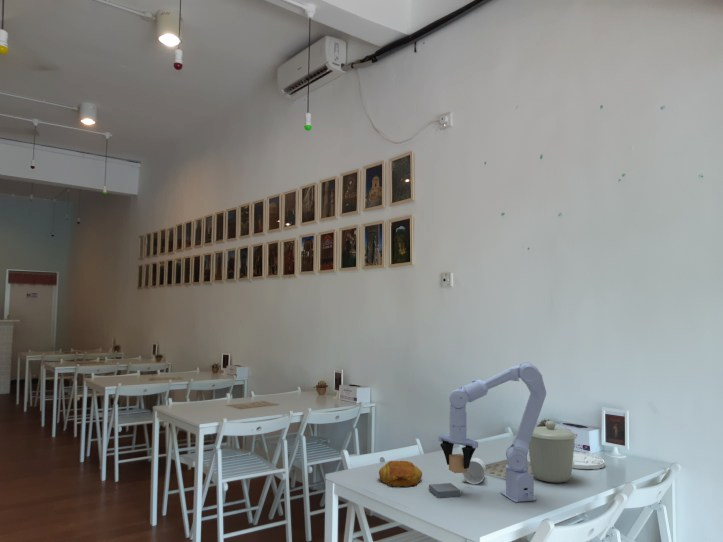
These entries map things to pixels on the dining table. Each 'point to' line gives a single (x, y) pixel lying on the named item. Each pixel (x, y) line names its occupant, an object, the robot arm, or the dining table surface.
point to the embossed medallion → (587, 461)
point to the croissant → (400, 473)
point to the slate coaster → (444, 490)
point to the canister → (551, 453)
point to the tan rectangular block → (457, 463)
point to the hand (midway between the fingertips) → (457, 466)
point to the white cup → (475, 471)
